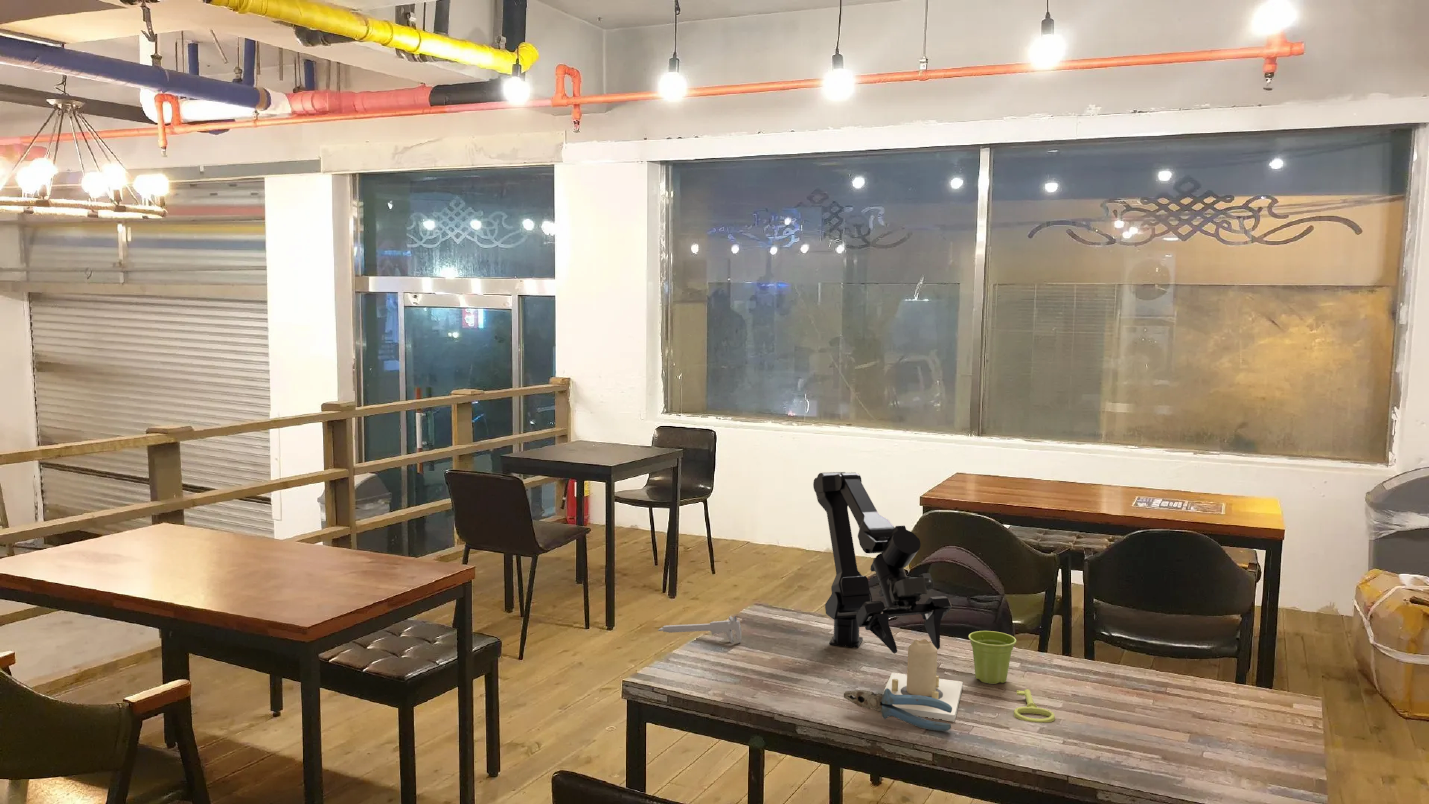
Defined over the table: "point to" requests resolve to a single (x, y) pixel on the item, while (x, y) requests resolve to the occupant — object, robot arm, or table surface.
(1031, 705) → the key
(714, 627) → the caliper
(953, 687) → the stud tile
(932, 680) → the candle
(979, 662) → the plant pot
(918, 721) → the pliers
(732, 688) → the table surface
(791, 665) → the table surface
